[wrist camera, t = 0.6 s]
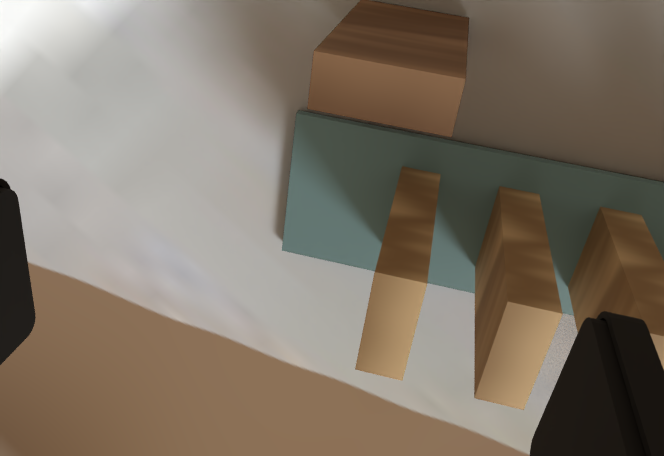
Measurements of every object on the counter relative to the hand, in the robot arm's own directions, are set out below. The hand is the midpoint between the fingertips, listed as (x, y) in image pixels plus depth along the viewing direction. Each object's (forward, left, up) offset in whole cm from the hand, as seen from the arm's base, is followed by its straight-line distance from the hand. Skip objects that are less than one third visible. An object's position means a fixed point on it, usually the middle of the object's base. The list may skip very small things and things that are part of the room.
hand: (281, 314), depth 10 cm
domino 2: (-5, +8, -22) cm, 24 cm away
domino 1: (0, 0, -22) cm, 22 cm away
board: (-10, +6, -22) cm, 25 cm away
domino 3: (-10, +6, -22) cm, 25 cm away
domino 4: (-14, +5, -22) cm, 26 cm away
